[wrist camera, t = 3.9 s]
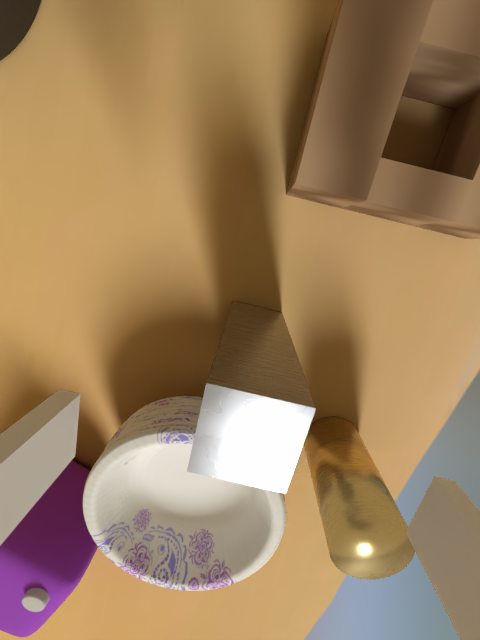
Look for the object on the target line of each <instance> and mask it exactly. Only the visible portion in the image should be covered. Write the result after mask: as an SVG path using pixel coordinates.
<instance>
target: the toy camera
mask: <svg viewBox="0 0 480 640" xmlns="http://www.w3.org/2000/svg"><path fill="white" fill-rule="evenodd" d="M89 473H90V470H88V469H86V468H85V467H83V466H82V465H80V464H78V463H77V462H75V461H73V460H72V461H71V462H70V463H69V464H68V465H67V467H66V468H65V469H64V470H63V471H62V473H61V474H60V475H59V476H58V477H57V478H56V480H55V481H54V482H53V483H52V484H51V486H50V487H49V488H48V489H47V490H46V492H45V493H44V494H43V495H42V496H41V498H40V499H39V500H38V501H37V502H36V504H35V505H34V506H33V507H32V508H31V510H30V511H29V512H28V513H27V514H26V516H25V517H24V518H23V519H22V520H21V522H20V523H19V524H18V525H17V526H16V528H15V529H14V530H13V531H12V532H11V534H10V535H9V536H8V537H7V538H6V540H5V541H4V542H3V543H2V544H1V546H0V630H2V631H4V632H7V633H9V634H12V635H14V636H18V637H27V636H29V635H31V634H33V633H34V632H35V631H37V630H38V629H39V628H40V627H41V626H42V625H43V624H44V623H45V622H46V621H47V619H48V618H49V617H50V616H51V615H52V614H53V613H54V612H55V611H56V609H57V608H58V607H59V606H60V605H61V604H62V603H63V602H64V601H65V599H66V598H67V597H68V596H69V595H70V594H71V592H72V591H73V590H74V589H75V587H76V586H77V585H78V583H79V582H80V580H81V578H82V577H83V575H84V573H85V571H86V569H87V568H88V566H89V564H90V562H91V560H92V558H93V556H94V554H95V552H96V550H97V548H98V546H97V544H96V543H95V542H94V540H93V538H92V536H91V535H90V532H89V530H88V528H87V525H86V522H85V518H84V514H83V492H84V487H85V483H86V480H87V477H88V475H89Z"/></svg>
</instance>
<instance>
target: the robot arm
mask: <svg viewBox="0 0 480 640" xmlns="http://www.w3.org/2000/svg"><path fill="white" fill-rule="evenodd" d="M40 2H41V0H0V60H2V59H3V58H5V57H6V56H7V55H8V54H10V53H11V52H12V51H13V50H14V49H15V48H16V47H17V45H18V44H19V43H20V42H21V41H22V39H23V38H24V36H25V35H26V33H27V32H28V30H29V28H30V27H31V25H32V22H33V20H34V18H35V16H36V13H37V11H38V8H39V5H40ZM80 395H81V394H79V393H75V392H70V391H66V390H62V389H59V390H58V391H56V392H55V393H54V394H52V395H51V396H50V397H48V398H47V399H46V400H44V401H43V402H42V403H41V404H39V405H38V406H37V407H35V408H34V409H33V410H31V411H30V412H29V413H27V414H26V415H25V416H23V417H22V418H21V419H19V420H18V421H17V422H16V423H14V424H13V425H12V426H10V427H9V428H8V429H6V430H5V431H4V432H2V433H1V434H0V546H1V544H2V543H3V542H4V541H5V540H6V538H7V537H8V536H9V535H10V534H11V532H12V531H13V530H14V529H15V528H16V526H17V525H18V524H19V523H20V522H21V520H22V519H23V518H24V517H25V516H26V514H27V513H28V512H29V511H30V510H31V508H32V507H33V506H34V505H35V504H36V502H37V501H38V500H39V499H40V498H41V496H42V495H43V494H44V493H45V492H46V490H47V489H48V488H49V487H50V486H51V484H52V483H53V482H54V481H55V480H56V478H57V477H58V476H59V475H60V474H61V473H62V471H63V470H64V469H65V468H66V467H67V465H68V464H69V463H70V462H71V461H72V459H73V458H74V457H75V454H76V443H77V431H78V419H79V407H80ZM406 534H407V536H408V538H409V540H410V542H411V544H412V546H413V548H414V550H415V552H416V554H417V555H418V557H419V559H420V561H421V563H422V565H423V567H424V569H425V571H426V573H427V575H428V577H429V579H430V581H431V583H432V585H433V587H434V589H435V591H436V593H437V594H438V596H439V598H440V600H441V602H442V604H443V606H444V608H445V610H446V612H447V614H448V616H449V618H450V620H451V622H452V624H453V626H454V628H455V629H456V631H457V633H458V635H459V637H460V639H461V640H480V511H479V510H478V508H477V507H476V506H475V505H474V504H473V503H472V501H471V500H470V499H469V498H468V497H467V495H466V494H465V493H464V492H463V490H462V489H461V488H460V487H459V485H458V484H457V483H456V482H455V481H452V480H447V479H443V478H439V477H434V479H433V481H432V482H431V484H430V486H429V488H428V490H427V492H426V494H425V496H424V498H423V500H422V501H421V503H420V505H419V507H418V509H417V511H416V513H415V515H414V517H413V519H412V521H411V522H410V524H409V526H408V528H407V530H406Z"/></svg>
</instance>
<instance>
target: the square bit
mask: <svg viewBox="0 0 480 640" xmlns="http://www.w3.org/2000/svg"><path fill="white" fill-rule="evenodd" d="M315 410H316V407H315V404H314V401H313V398H312V396H311V393H310V390H309V387H308V384H307V381H306V379H305V376H304V373H303V370H302V367H301V365H300V362H299V359H298V356H297V353H296V351H295V348H294V345H293V342H292V339H291V337H290V334H289V331H288V328H287V325H286V323H285V320H284V317H283V314H282V312H278V311H274V310H270V309H266V308H261V307H257V306H253V305H249V304H245V303H240V302H236V301H233V303H232V306H231V309H230V312H229V315H228V318H227V321H226V325H225V328H224V331H223V334H222V337H221V340H220V343H219V346H218V349H217V352H216V355H215V358H214V361H213V364H212V367H211V370H210V373H209V376H208V379H207V382H206V387H205V391H204V396H203V400H202V405H201V409H200V414H199V418H198V423H197V428H196V432H195V437H194V441H193V446H192V450H191V455H190V459H189V464H188V468H187V472H191V473H195V474H200V475H204V476H209V477H213V478H218V479H222V480H227V481H231V482H235V483H240V484H244V485H249V486H253V487H258V488H262V489H266V490H271V491H275V492H280V493H284V494H286V491H287V489H288V486H289V483H290V480H291V477H292V475H293V472H294V469H295V466H296V463H297V461H298V458H299V455H300V452H301V449H302V447H303V444H304V441H305V438H306V435H307V433H308V430H309V427H310V424H311V421H312V419H313V416H314V413H315Z"/></svg>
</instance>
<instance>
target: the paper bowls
mask: <svg viewBox="0 0 480 640" xmlns="http://www.w3.org/2000/svg"><path fill="white" fill-rule="evenodd" d="M202 400H203V398H201V397H197V396H175V397H168V398H165V399H160V400H158V401H154V402H152V403H149V404H148V405H145V406H144V407H142V408H141V409H139V410H138V411H136V412H135V413H134V414H132V415H131V416H130V417H129V418H128V419H127V420H126V421H125V422H124V423H123V424H122V425H121V427H120V428H119V429H118V431H117V432H116V433H115V435H114V436H113V438H112V439H111V440H110V442H109V443H108V444H107V446H106V447H105V449H104V451H103V452H102V454H101V456H100V457H99V458H98V460H97V461H96V462H95V464H94V466H93V467H92V469H91V471H90V473H89V475H88V477H87V480H86V483H85V487H84V492H83V514H84V518H85V522H86V525H87V528H88V530H89V532H90V535H91V536H92V538H93V540H94V542H95V543H96V544H97V546H98V547H99V549H100V550H101V551H102V552H103V553H104V554H105V555H106V557H107V558H109V559H110V560H111V561H112V562H113V563H114V564H116V565H117V566H118V567H119V568H121V569H123V570H124V571H125V572H127V573H129V574H130V575H132V576H134V577H137V578H139V579H141V580H143V581H146V582H149V583H151V584H154V585H157V586H161V587H165V588H169V589H176V590H186V591H198V590H212V589H217V588H221V587H226V586H229V585H232V584H234V583H237V582H239V581H241V580H243V579H245V578H247V577H248V576H250V575H252V574H253V573H254V572H256V571H257V570H259V569H260V568H261V567H262V566H263V565H265V563H266V562H267V561H268V560H269V559H270V558H271V556H272V555H273V554H274V552H275V550H276V549H277V547H278V545H279V543H280V541H281V538H282V536H283V532H284V528H285V523H286V505H285V498H284V493H280V492H275V491H271V490H266V489H262V488H258V487H253V486H249V485H244V484H240V483H235V482H231V481H227V480H222V479H218V478H213V477H209V476H204V475H200V474H195V473H191V472H187V468H188V464H189V459H190V455H191V450H192V446H193V441H194V437H195V432H196V428H197V423H198V418H199V414H200V409H201V405H202Z"/></svg>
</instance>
